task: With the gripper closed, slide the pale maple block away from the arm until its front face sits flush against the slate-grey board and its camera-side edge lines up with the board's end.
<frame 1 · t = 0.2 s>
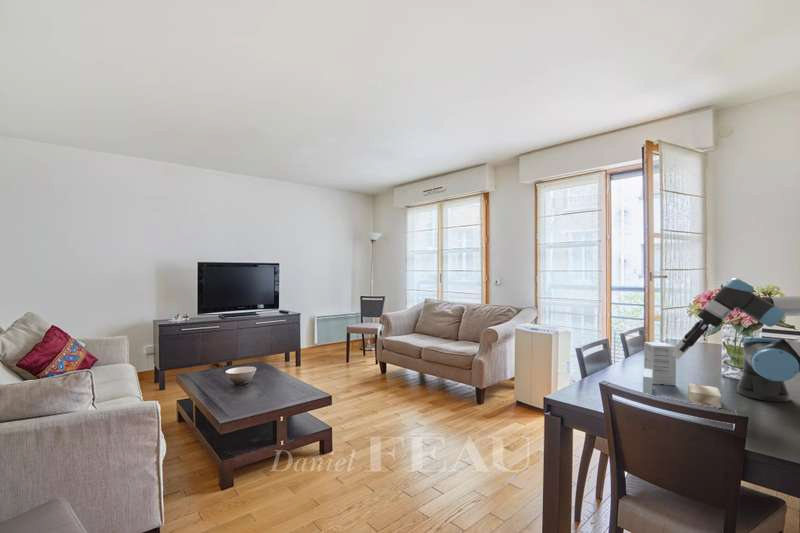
hand: (675, 354, 158), 15 cm above the table, tool tilted 35°, fingers open, 13 cm apart
supplement box: (659, 382, 172), on the table
maple block: (704, 402, 147), on the table
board: (647, 392, 158), on the table
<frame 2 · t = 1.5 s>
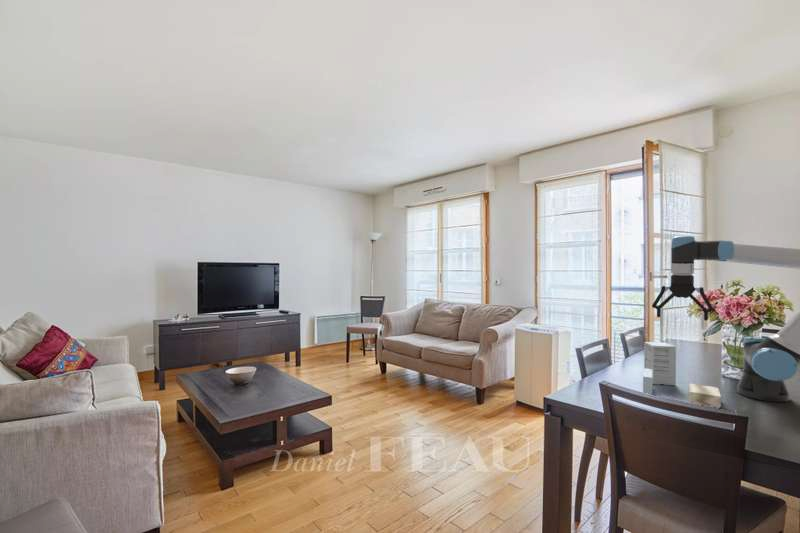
hand: (681, 327, 157), 27 cm above the table, tool pointing down, fingers open, 13 cm apart
nothing on the table moved.
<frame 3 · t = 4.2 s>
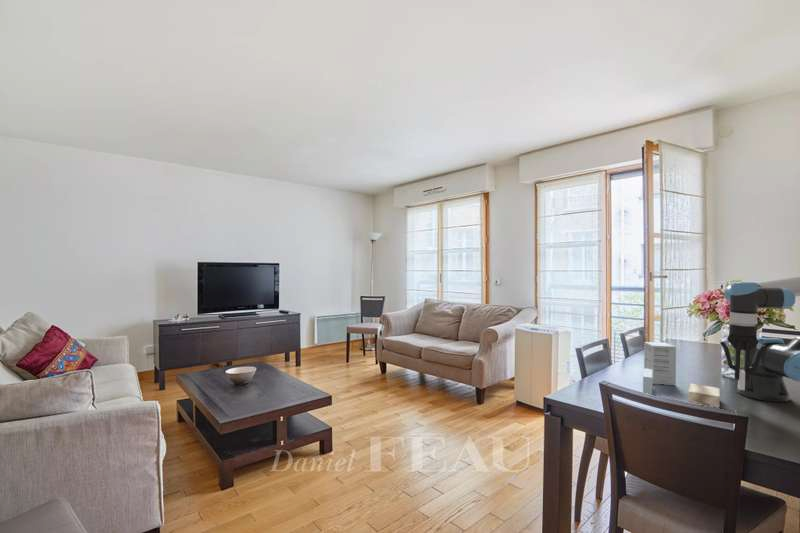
hand: (741, 388, 141), 7 cm above the table, tool pointing down, fingers closed
nothing on the table moved.
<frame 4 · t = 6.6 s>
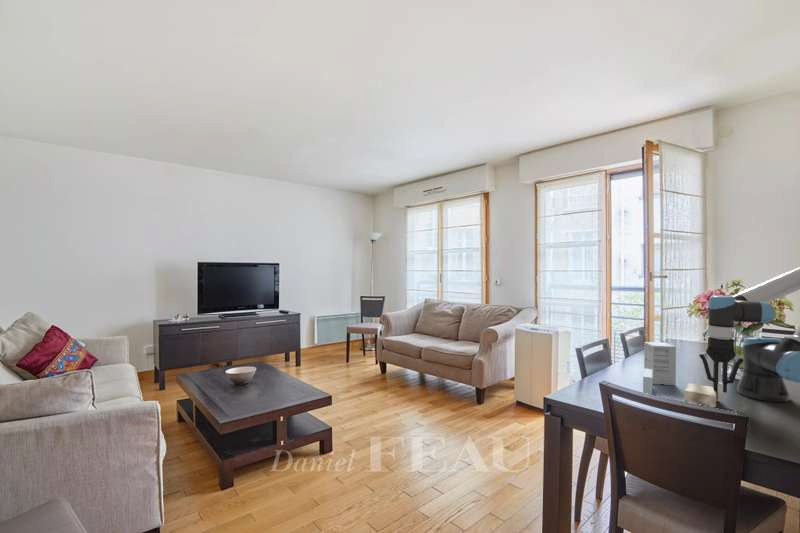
hand: (719, 400, 145), 2 cm above the table, tool pointing down, fingers closed
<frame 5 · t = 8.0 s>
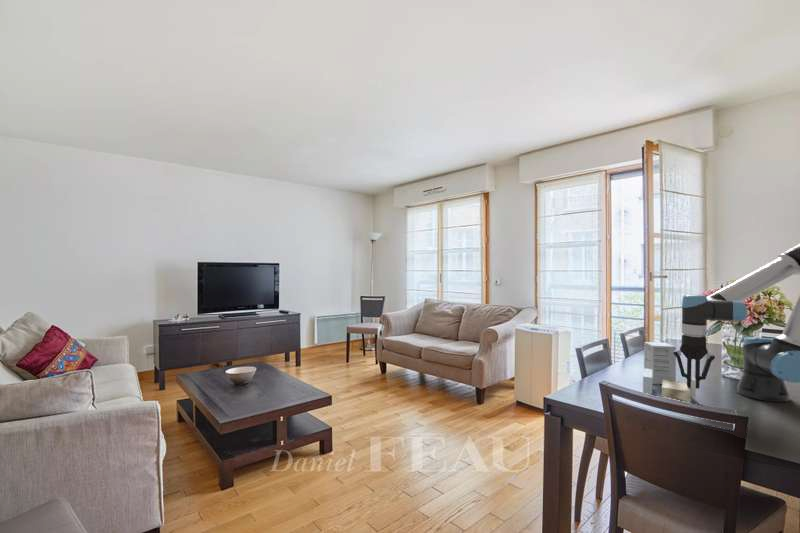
hand: (692, 396, 149), 2 cm above the table, tool pointing down, fingers closed
maple block: (676, 397, 152), on the table, touching gripper
everything else where it was.
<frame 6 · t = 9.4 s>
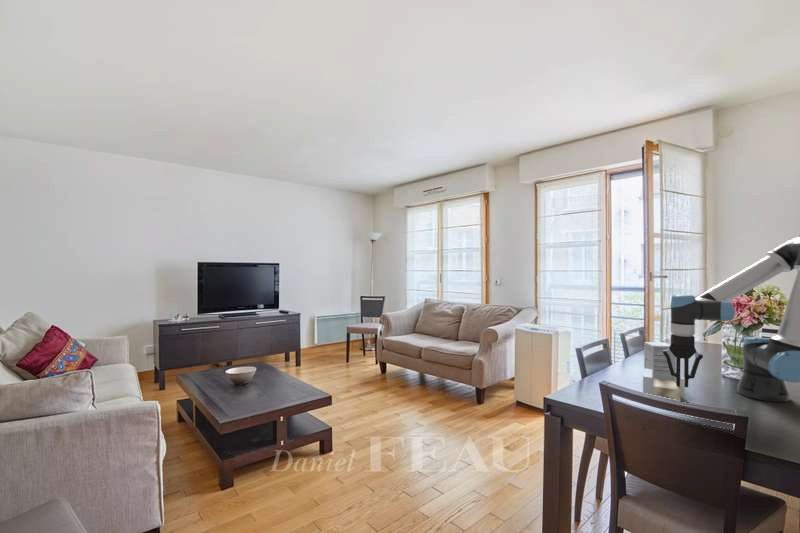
hand: (682, 394, 151), 1 cm above the table, tool pointing down, fingers closed
maple block: (665, 396, 154), on the table
everything else where it was.
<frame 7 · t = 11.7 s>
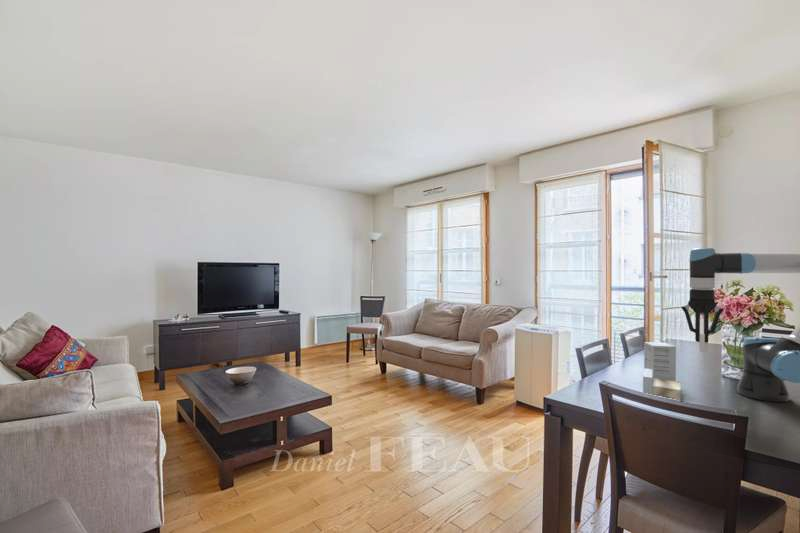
hand: (701, 350, 148), 19 cm above the table, tool pointing down, fingers closed
nothing on the table moved.
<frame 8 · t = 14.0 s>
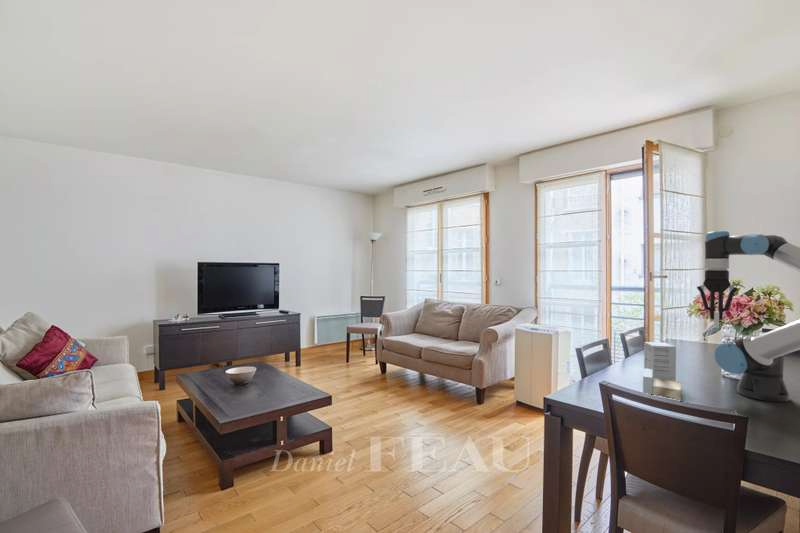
hand: (716, 327, 157), 26 cm above the table, tool pointing down, fingers closed
nothing on the table moved.
at the end: maple block 0.8 cm from the target spot on the table beside the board, on the table; maple block tilted 0° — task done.
